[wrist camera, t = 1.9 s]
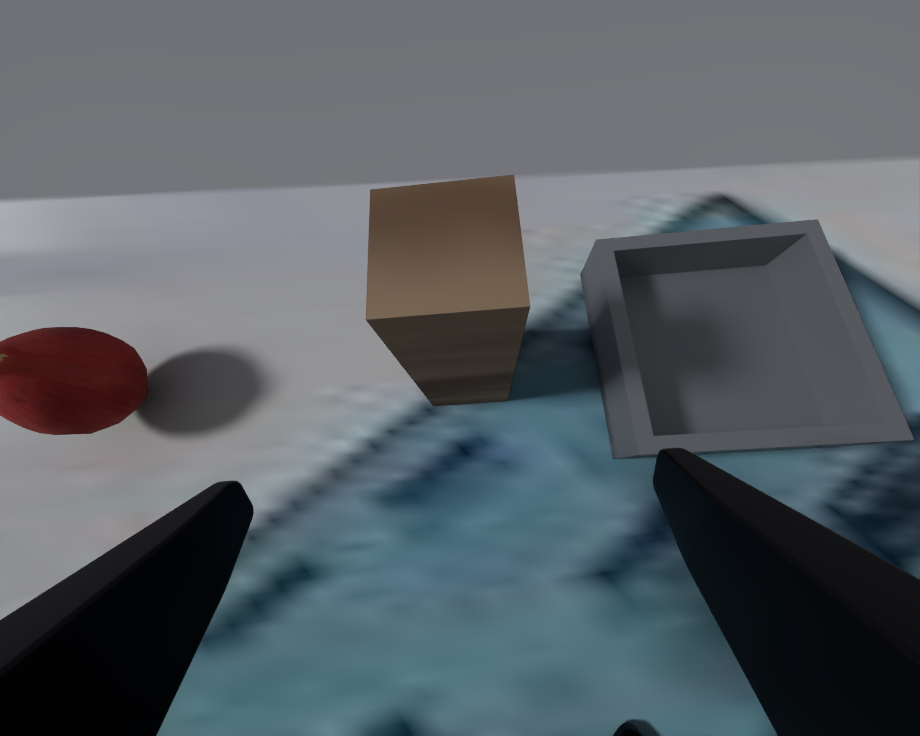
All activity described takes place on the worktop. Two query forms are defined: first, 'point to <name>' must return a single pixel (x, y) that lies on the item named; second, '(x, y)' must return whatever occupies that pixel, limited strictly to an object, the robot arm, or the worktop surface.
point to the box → (733, 344)
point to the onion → (69, 380)
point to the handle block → (449, 285)
